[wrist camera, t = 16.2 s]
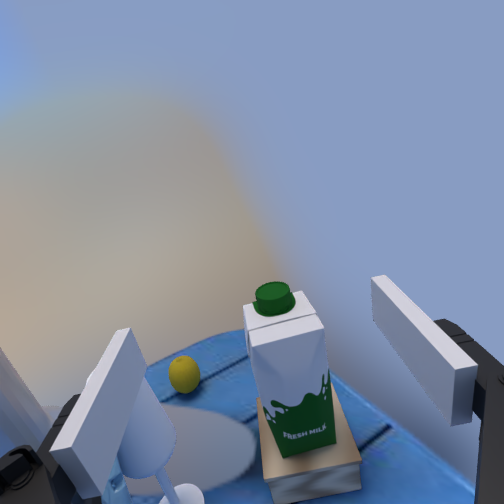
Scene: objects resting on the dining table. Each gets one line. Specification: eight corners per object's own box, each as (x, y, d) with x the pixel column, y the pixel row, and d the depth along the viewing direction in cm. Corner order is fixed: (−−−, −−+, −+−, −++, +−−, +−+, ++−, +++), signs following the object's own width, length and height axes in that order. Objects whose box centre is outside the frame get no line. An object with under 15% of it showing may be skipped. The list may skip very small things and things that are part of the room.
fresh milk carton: (321, 390, 45) (303, 272, 37) (347, 449, 37) (331, 312, 29) (263, 406, 45) (233, 289, 37) (277, 469, 36) (241, 335, 29)
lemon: (208, 378, 60) (197, 346, 57) (199, 402, 55) (187, 369, 52) (182, 379, 61) (170, 348, 58) (171, 403, 56) (158, 370, 53)
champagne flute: (209, 526, 38) (146, 382, 28) (154, 556, 36) (68, 413, 27) (199, 474, 44) (144, 341, 34) (152, 497, 42) (81, 364, 33)
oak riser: (272, 509, 38) (263, 479, 36) (263, 424, 49) (256, 397, 46) (364, 491, 38) (362, 460, 35) (335, 410, 48) (331, 382, 46)
